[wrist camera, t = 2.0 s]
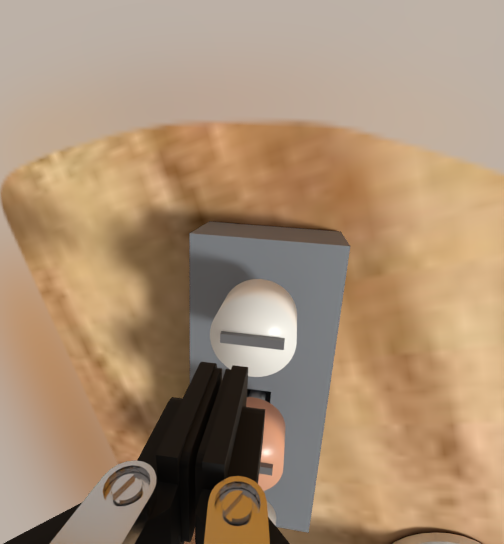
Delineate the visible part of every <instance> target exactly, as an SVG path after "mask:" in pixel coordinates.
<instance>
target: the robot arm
mask: <svg viewBox="0 0 504 544" xmlns="http://www.w3.org/2000/svg"><path fill="white" fill-rule="evenodd" d="M247 385H248V367H243V366H235V365H233V366H232V368H231V369H226V370H225V373H224V376H223V379H222V368H217V364H216V363H209V362H200V364H199V366H198V368H197V370H196V372H195V374H194V376H193V378H192V380H191V383H190V385H189V387H188V389H187V391H186V393H185V395H184V397H183V399H181V398H173V397H172V398H171V399H170V400H169V402H168V404H167V406H166V407H165V409H164V411H163V413H162V415H161V417H160V419H159V421H158V422H157V424H156V426H155V428H154V430H153V432H152V434H151V436H150V438H149V439H148V441H147V443H146V445H145V447H144V449H143V451H142V453H141V455H140V456H139V458H138V460H137V461H136V460H135V461H127V462H124V463H121V464H118V465H117V466H115V467H113V468H112V469H110V470H109V471H108V472H107V473H106V474H105V475H104V476H103V477H102V478H101V480H100V481H99V482H98V484H97V485H96V486H95V487H94V489H93V490H92V491H91V492H90V493H89V495H88V496H87V497H86V499H85V500H84V501H83V502H82V503H80V504H78V505H76V506H74V507H73V508H71V509H69V510H67V511H65V512H63V513H61V514H59V515H57V516H55V517H53V518H51V519H49V520H48V521H46V522H44V523H42V524H40V525H38V526H36V527H34V528H32V529H30V530H28V531H26V532H24V533H23V534H21V535H19V536H17V537H15V538H13V539H11V540H9V541H7V542H6V543H4V544H184V541H186V542H190V541H191V539H192V536H193V532H194V529H195V541H196V544H289V542H288V541H287V540H286V539H285V537H284V536H283V535H282V533H281V532H280V531H279V530H278V528H277V527H276V526H275V525H274V523H273V522H272V521H271V520H270V518H269V517H268V510H267V500H266V496H265V493H264V491H263V490H262V488H261V487H260V486H259V485H258V479H259V471H260V462H261V454H262V445H263V434H264V422H265V409H258V408H251V407H246V402H247ZM392 544H481V543H479V542H477V541H475V540H472V539H469V538H467V537H464V536H460V535H455V534H450V533H439V532H432V533H421V534H416V535H411V536H408V537H405V538H402V539H400V540H398V541H396V542H394V543H392Z"/></svg>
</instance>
